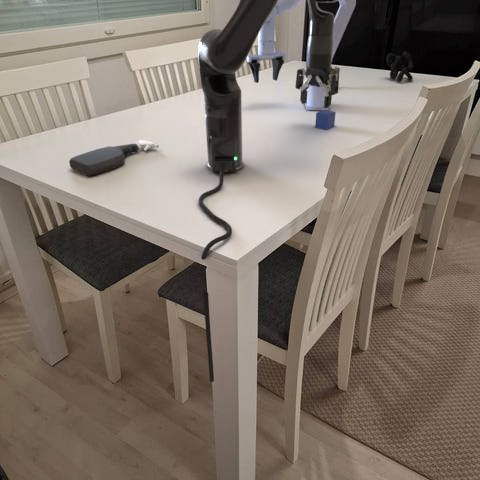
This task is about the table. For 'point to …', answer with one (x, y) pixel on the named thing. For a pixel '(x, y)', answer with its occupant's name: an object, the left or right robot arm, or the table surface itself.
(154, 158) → the table surface
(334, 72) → the olive rounded piece
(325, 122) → the brick
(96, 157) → the spray bottle
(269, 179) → the table surface
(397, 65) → the squiggle
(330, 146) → the table surface
